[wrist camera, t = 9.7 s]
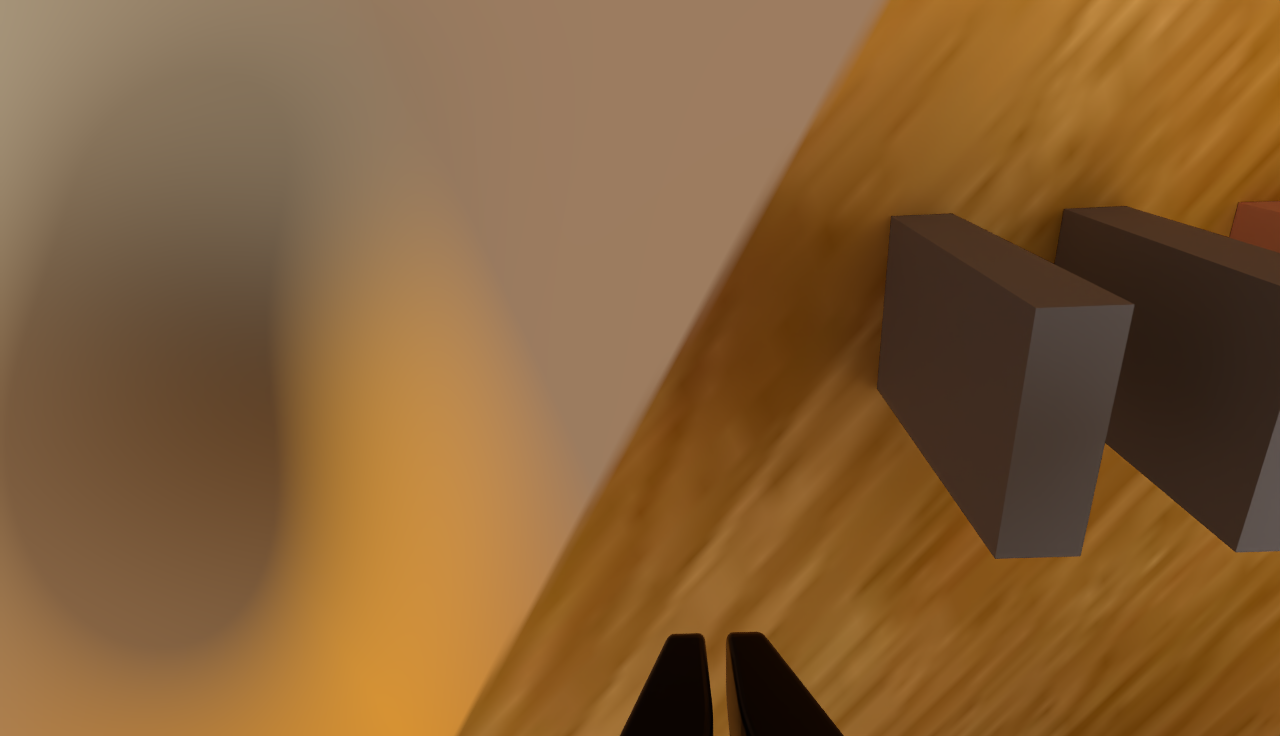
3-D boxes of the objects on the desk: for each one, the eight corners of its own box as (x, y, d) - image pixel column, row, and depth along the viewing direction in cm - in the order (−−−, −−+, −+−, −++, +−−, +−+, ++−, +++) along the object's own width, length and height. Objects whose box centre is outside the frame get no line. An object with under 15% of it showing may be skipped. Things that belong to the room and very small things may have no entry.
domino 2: (1090, 381, 21) (1322, 549, 14) (1034, 383, 21) (1235, 552, 14) (1125, 206, 20) (1416, 294, 12) (1063, 209, 20) (1313, 298, 12)
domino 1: (932, 386, 22) (1080, 556, 14) (877, 388, 22) (994, 558, 14) (952, 213, 20) (1134, 304, 12) (891, 215, 20) (1036, 308, 12)
